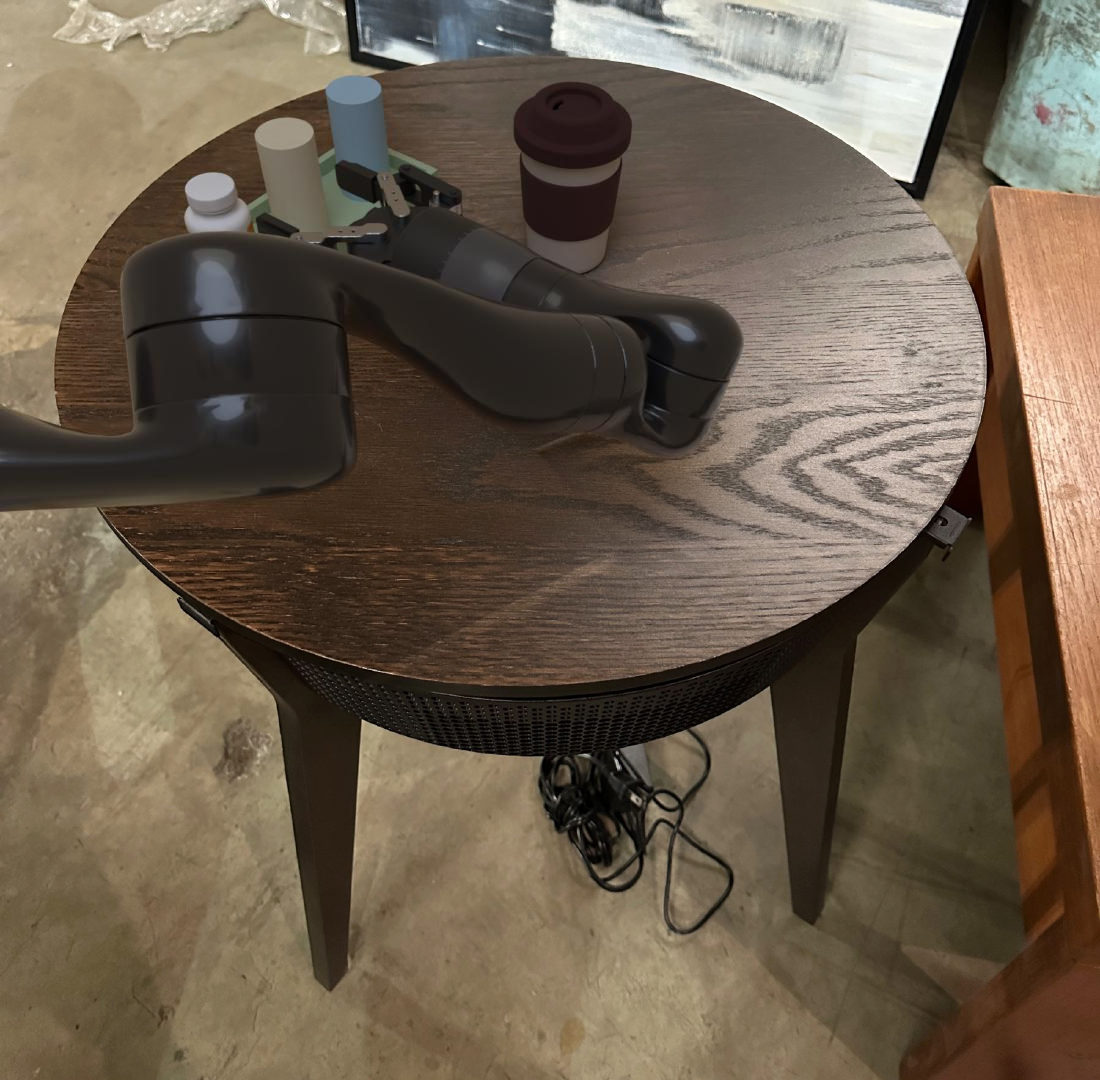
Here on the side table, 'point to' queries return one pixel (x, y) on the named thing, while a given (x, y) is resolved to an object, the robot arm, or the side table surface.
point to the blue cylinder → (358, 123)
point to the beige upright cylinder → (292, 173)
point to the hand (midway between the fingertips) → (300, 198)
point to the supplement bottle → (215, 205)
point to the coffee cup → (570, 170)
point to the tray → (337, 204)
